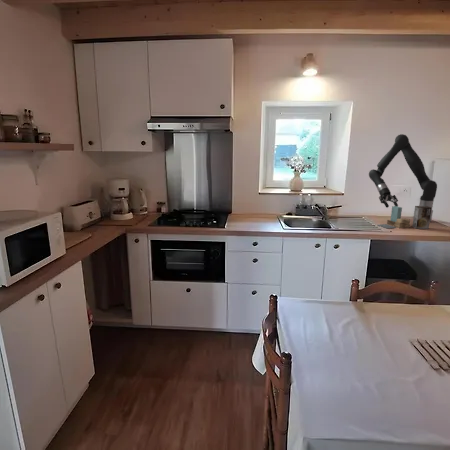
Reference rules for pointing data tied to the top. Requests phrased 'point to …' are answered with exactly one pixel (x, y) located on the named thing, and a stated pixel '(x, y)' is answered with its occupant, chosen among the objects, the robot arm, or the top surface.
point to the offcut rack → (400, 223)
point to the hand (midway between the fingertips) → (392, 206)
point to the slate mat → (387, 226)
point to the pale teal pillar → (396, 213)
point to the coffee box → (421, 217)
